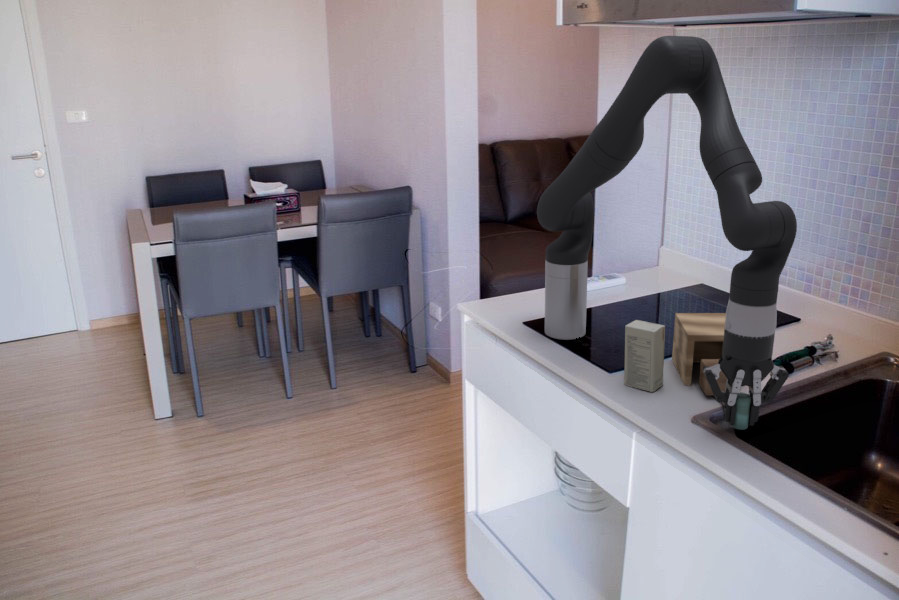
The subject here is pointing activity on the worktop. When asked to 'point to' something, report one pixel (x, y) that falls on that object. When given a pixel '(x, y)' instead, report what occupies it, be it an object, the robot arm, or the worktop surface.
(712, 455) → the worktop surface
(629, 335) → the skincare box
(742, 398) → the mallet
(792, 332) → the worktop surface
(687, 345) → the oak cubby
